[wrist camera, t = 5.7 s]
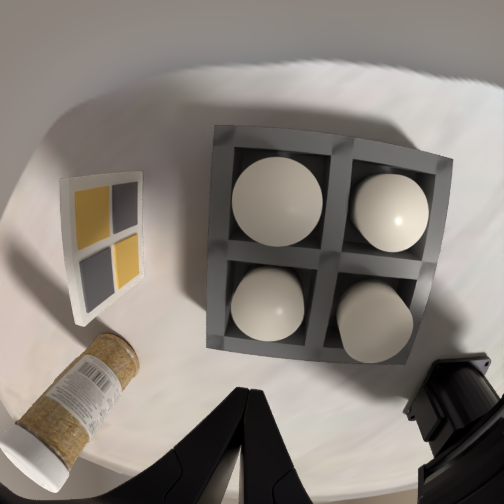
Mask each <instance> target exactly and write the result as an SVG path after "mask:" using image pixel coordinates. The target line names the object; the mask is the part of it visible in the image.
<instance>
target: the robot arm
mask: <svg viewBox="0 0 504 504" xmlns="http://www.w3.org/2000/svg"><path fill="white" fill-rule="evenodd" d="M490 364H491V360H490V358H489V357H477V358H463V359H444V360H437V361H435V362H434V363H433V364H432V366H431V368H430V370H429V373H428V375H427V377H426V379H425V381H424V383H423V385H422V387H421V389H420V391H419V393H418V395H417V397H416V399H415V401H414V403H413V405H412V407H411V409H410V410H409V412H408V414H407V418H408V420H409V421H415V420H416V421H417V424H418V426H419V429H420V432H421V435H422V437H423V440H424V441H425V442H429V445H430V448H431V451H432V453H433V456H434V459H432V460H431V461H430V462H428V463H427V464H424V465H422V466H421V467H420V468H418V503H417V504H504V394H503V395H502V398H501V399H500V397H499V396H498V394H497V393H496V391H495V390H494V389H493V387H492V386H491V384H490V383H489V381H488V380H487V379H486V377H485V376H484V375H485V374H486V372H487V370H488V368H489V366H490ZM437 366H438V367H437ZM240 448H241V452H240V476H239V504H313V502H312V501H311V499H310V497H309V496H308V494H307V492H306V491H305V489H304V487H303V485H302V483H301V481H300V479H299V476H298V474H297V472H296V469H295V468H294V465H293V463H292V460H291V458H290V456H289V453H288V451H287V449H286V446H285V444H284V441H283V439H282V436H281V434H280V432H279V429H278V427H277V424H276V422H275V419H274V417H273V414H272V412H271V409H270V407H269V404H268V402H267V399H266V397H265V394H264V392H263V391H262V390H258V389H250V391H249V389H248V388H243V387H236V388H235V389H234V390H233V391H232V392H231V393H230V394H229V395H228V396H227V397H226V398H225V399H224V400H223V401H222V402H221V403H220V404H219V405H218V406H217V407H216V408H215V409H214V410H213V411H212V412H211V413H210V414H209V415H208V416H207V417H206V418H204V419H203V420H202V421H201V422H200V423H199V424H198V425H197V426H196V427H195V428H194V429H193V430H192V431H191V432H190V433H189V434H188V435H186V436H185V437H184V438H183V439H182V440H181V441H180V442H179V443H178V444H177V445H175V446H174V449H171V450H170V451H169V452H167V453H166V454H165V455H164V456H163V457H162V458H160V459H159V460H158V461H157V462H155V463H154V464H153V465H151V466H150V467H148V468H147V469H145V470H144V471H142V472H141V473H139V474H138V475H136V476H135V477H133V478H131V479H130V480H128V481H126V482H124V483H123V484H121V485H119V486H118V487H116V488H114V489H112V490H110V491H109V492H107V493H105V494H102V495H99V496H96V497H92V498H85V499H70V500H31V499H26V498H23V497H20V496H18V495H16V494H14V493H13V492H12V491H10V490H9V489H8V488H7V487H6V486H4V485H3V484H2V483H1V482H0V504H221V502H222V499H223V497H224V494H225V491H226V489H227V486H228V483H229V480H230V477H231V475H232V472H233V469H234V466H235V463H236V461H237V458H238V455H239V451H240Z"/></svg>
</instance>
